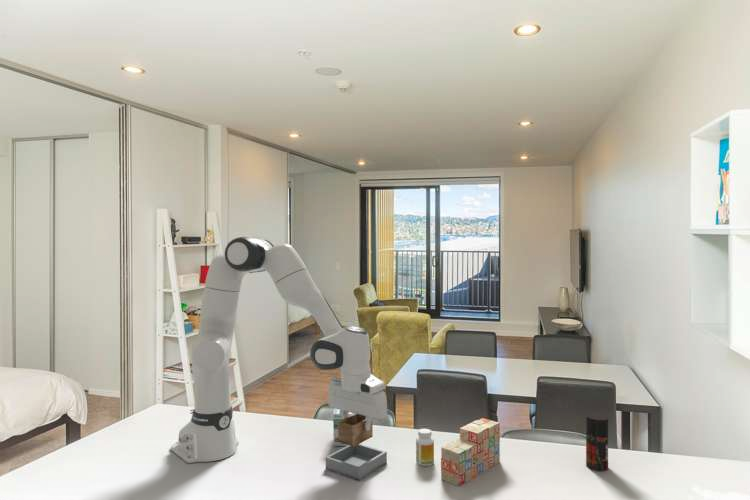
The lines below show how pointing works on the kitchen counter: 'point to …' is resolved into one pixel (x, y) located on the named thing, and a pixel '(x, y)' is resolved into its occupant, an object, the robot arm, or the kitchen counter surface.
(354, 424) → the small crate
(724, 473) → the kitchen counter surface
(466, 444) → the stack of blocks
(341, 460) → the grey square tray
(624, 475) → the kitchen counter surface
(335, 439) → the light bulb box
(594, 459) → the deodorant
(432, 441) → the supplement bottle
